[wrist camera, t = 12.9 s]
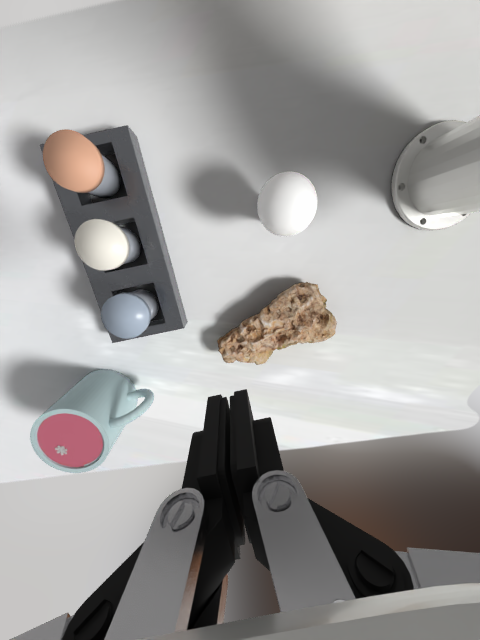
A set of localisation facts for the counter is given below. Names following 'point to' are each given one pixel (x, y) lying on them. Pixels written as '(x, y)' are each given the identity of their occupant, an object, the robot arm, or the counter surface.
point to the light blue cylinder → (129, 313)
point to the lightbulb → (287, 203)
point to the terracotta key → (79, 165)
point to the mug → (87, 421)
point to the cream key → (106, 244)
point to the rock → (280, 326)
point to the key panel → (125, 211)
